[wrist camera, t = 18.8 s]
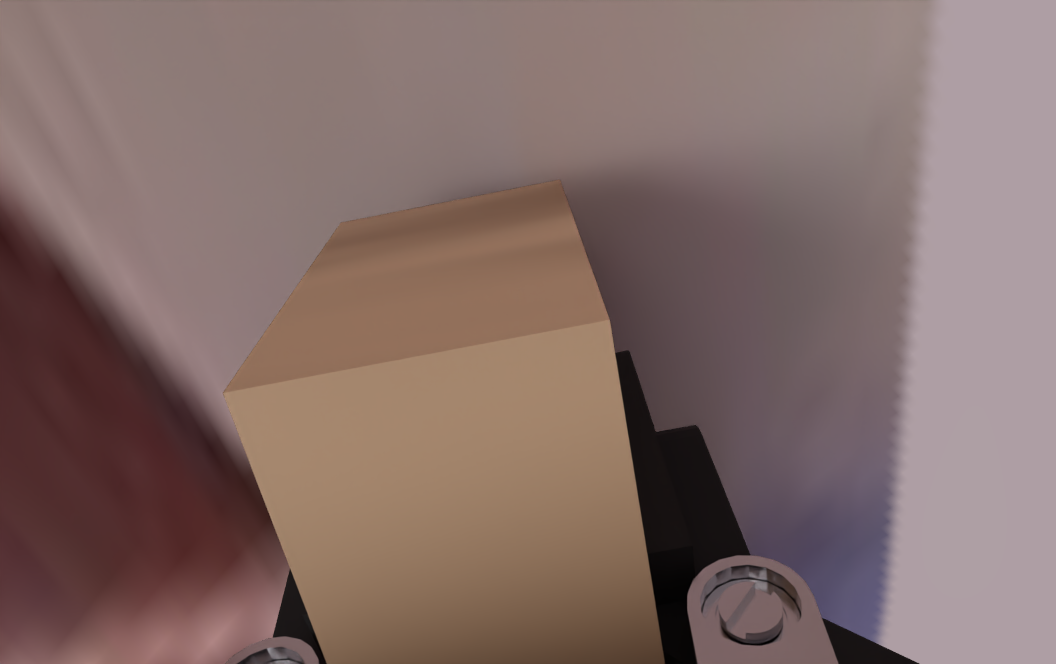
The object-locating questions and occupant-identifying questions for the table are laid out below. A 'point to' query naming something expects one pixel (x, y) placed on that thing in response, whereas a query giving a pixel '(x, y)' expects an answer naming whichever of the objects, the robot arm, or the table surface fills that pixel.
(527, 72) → the table surface
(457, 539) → the tan block
